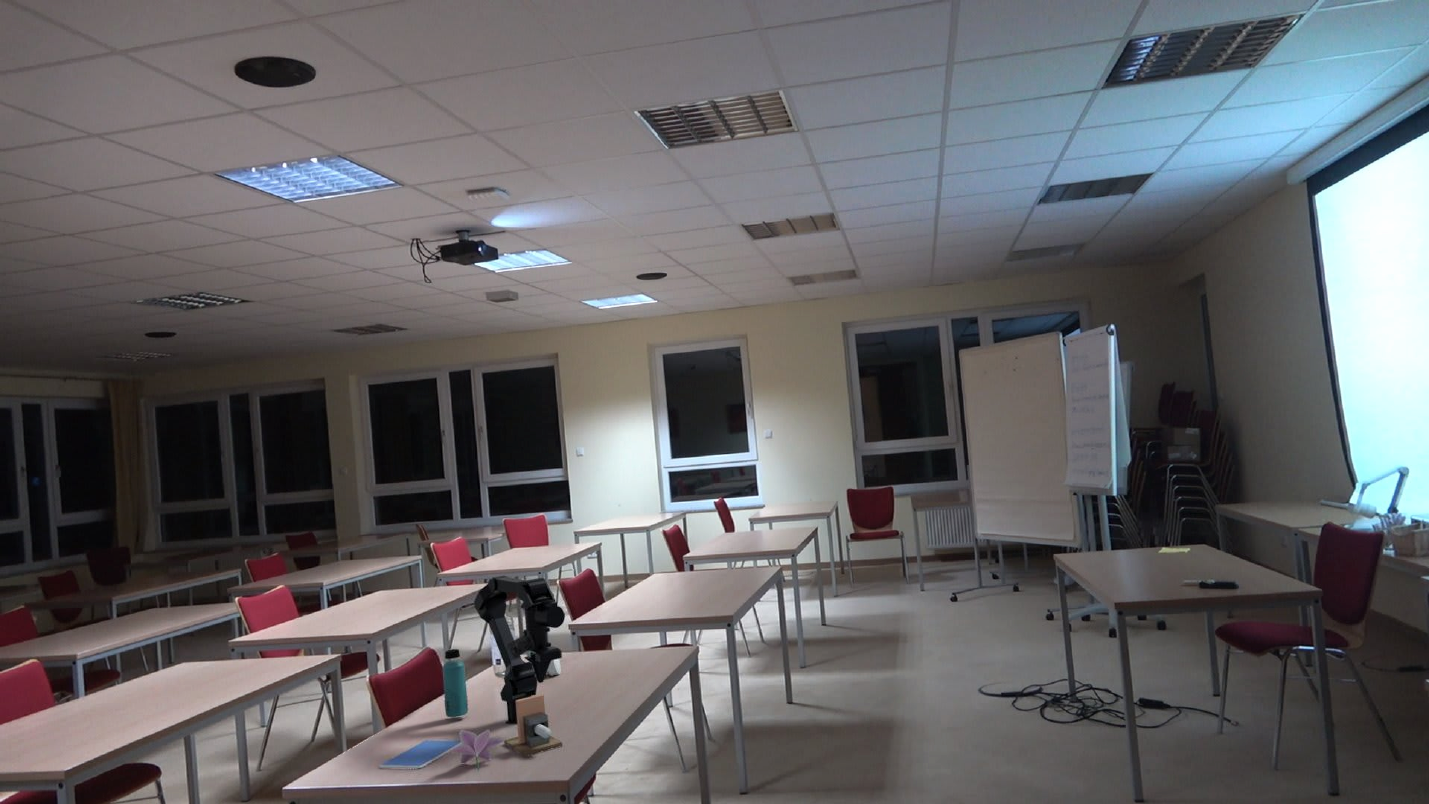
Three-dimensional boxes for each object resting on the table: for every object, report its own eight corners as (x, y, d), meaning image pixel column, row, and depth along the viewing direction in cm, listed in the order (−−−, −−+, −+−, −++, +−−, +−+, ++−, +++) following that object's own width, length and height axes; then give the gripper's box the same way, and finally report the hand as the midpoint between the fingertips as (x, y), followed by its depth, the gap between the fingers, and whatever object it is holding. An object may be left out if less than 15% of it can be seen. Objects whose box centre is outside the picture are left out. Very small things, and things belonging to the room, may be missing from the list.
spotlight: (558, 674, 294) (552, 650, 296) (526, 684, 294) (520, 660, 296) (564, 672, 301) (558, 649, 303) (532, 682, 301) (527, 658, 303)
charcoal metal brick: (525, 744, 221) (522, 716, 222) (543, 739, 224) (541, 711, 225) (531, 748, 218) (528, 719, 219) (549, 743, 221) (547, 714, 221)
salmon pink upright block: (518, 742, 222) (515, 700, 223) (544, 735, 226) (541, 694, 227) (534, 751, 214) (530, 707, 215) (560, 743, 218) (557, 701, 218)
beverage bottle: (473, 716, 256) (468, 647, 257) (458, 723, 250) (453, 652, 251) (456, 715, 259) (451, 647, 260) (440, 722, 253) (435, 652, 254)
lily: (513, 765, 213) (506, 725, 218) (490, 761, 203) (483, 720, 208) (470, 783, 214) (463, 743, 219) (444, 780, 204) (438, 739, 208)
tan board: (504, 744, 227) (504, 740, 227) (540, 734, 232) (540, 730, 232) (524, 756, 215) (524, 752, 215) (562, 746, 221) (562, 742, 221)
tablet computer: (425, 744, 235) (424, 739, 235) (465, 744, 231) (465, 739, 231) (377, 771, 216) (377, 765, 216) (421, 771, 213) (420, 766, 213)
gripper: (496, 626, 244) (500, 683, 243) (520, 634, 228) (525, 695, 227) (534, 619, 250) (538, 674, 249) (560, 626, 234) (565, 685, 233)
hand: (540, 682), depth 239 cm, fingers closed
